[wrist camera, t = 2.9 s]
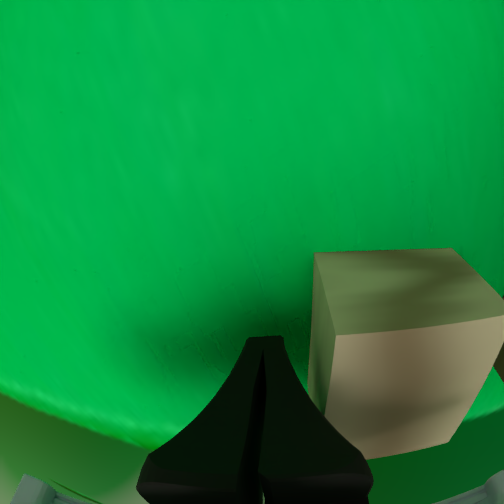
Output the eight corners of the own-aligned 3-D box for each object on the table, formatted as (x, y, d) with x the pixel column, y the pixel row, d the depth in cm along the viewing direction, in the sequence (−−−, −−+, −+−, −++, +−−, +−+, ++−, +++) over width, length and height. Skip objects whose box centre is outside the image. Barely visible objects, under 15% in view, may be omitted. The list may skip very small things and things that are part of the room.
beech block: (450, 246, 12) (515, 312, 7) (417, 368, 15) (447, 442, 10) (313, 251, 12) (336, 335, 8) (307, 379, 15) (315, 465, 11)
